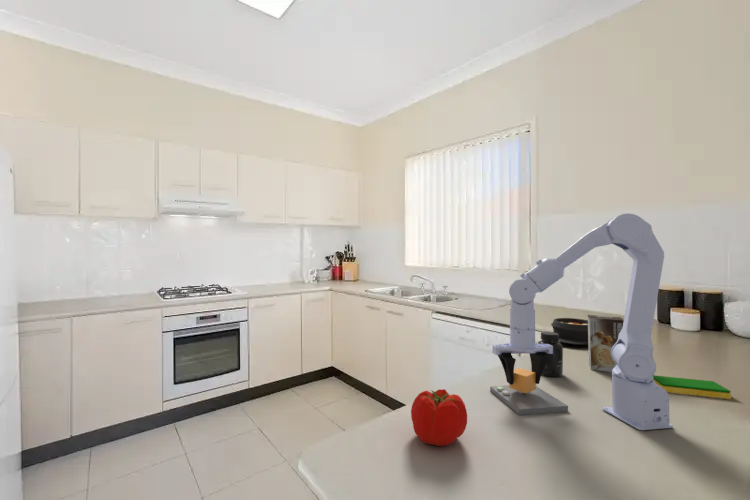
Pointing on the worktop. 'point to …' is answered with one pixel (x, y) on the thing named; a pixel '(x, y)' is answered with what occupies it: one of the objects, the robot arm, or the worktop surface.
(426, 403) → the tomato
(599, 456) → the worktop surface
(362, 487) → the worktop surface
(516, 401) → the panel
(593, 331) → the coffee box
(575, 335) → the casserole
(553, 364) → the supplement bottle
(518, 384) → the orange wooden cube
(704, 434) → the worktop surface
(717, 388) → the dish sponge
